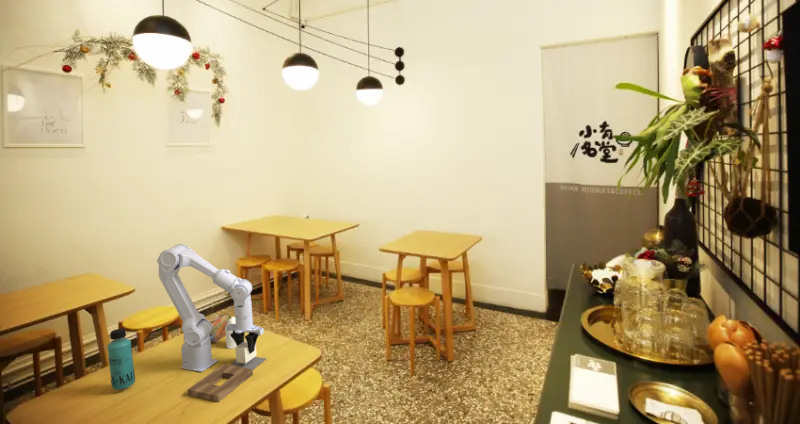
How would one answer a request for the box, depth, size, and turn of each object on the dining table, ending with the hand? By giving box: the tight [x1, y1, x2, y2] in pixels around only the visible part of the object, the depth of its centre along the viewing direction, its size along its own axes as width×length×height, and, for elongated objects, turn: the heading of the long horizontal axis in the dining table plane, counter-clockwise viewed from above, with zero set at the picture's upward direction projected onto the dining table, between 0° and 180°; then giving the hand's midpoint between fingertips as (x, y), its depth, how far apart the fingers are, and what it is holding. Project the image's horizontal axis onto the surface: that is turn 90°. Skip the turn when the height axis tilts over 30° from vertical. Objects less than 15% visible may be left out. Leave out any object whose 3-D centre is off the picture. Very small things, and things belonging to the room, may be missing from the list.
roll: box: [225, 316, 237, 350], centre depth 161 cm, size 6×12×6 cm
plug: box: [234, 340, 258, 364], centre depth 147 cm, size 4×6×6 cm, turn 162°
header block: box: [186, 363, 254, 403], centre depth 134 cm, size 12×16×2 cm
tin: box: [209, 313, 232, 344], centre depth 168 cm, size 15×3×8 cm, turn 168°
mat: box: [229, 356, 267, 370], centre depth 148 cm, size 10×8×1 cm
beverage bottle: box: [107, 328, 136, 391], centre depth 132 cm, size 6×7×20 cm
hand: (246, 351), depth 147 cm, fingers closed on plug, 4 cm apart
